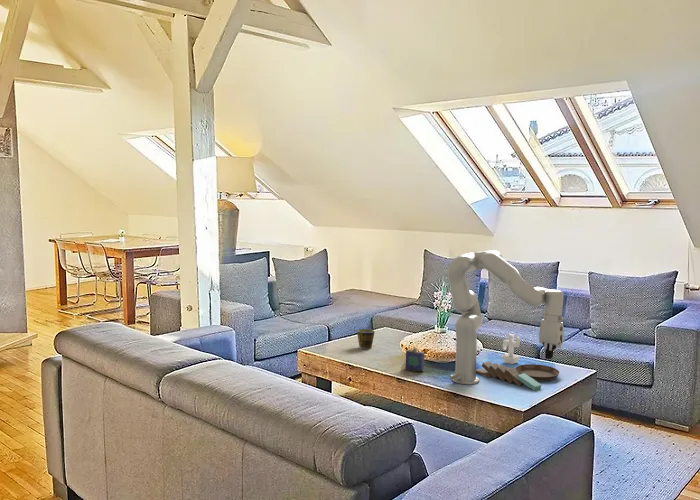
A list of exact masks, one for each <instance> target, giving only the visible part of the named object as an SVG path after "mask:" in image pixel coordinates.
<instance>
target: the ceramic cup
mask: <svg viewBox="0 0 700 500" xmlns="http://www.w3.org/2000/svg"><path fill="white" fill-rule="evenodd" d="M356 335H357V341H358V348H359V349H360V350H365V351H366V349H367V350H371V349H372V346H373V342H374V338H375V330H374V329H370V328H361V329H357V330H356Z"/></svg>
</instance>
